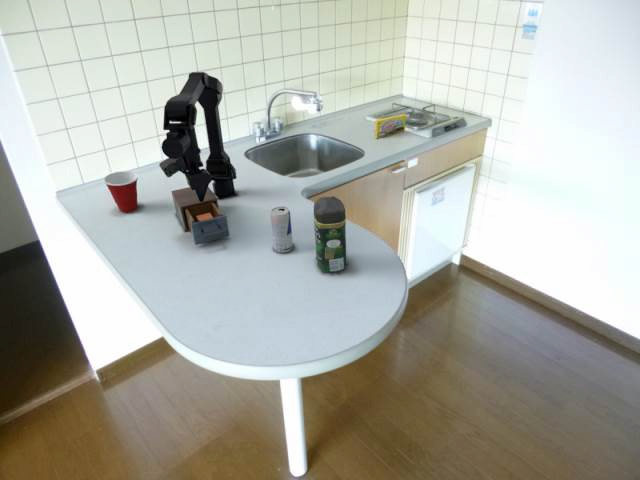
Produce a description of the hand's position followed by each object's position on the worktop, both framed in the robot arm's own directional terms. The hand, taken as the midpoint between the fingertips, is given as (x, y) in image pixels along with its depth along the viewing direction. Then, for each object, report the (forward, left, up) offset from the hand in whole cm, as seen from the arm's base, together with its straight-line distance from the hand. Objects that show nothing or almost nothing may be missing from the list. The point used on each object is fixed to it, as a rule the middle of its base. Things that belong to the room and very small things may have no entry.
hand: (197, 195), depth 138 cm
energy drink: (-17, +23, -12) cm, 31 cm away
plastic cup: (+19, -27, -12) cm, 35 cm away
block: (0, +4, -10) cm, 10 cm away
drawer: (0, +6, -11) cm, 12 cm away
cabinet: (0, -8, -12) cm, 14 cm away
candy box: (-98, -43, -12) cm, 107 cm away
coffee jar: (-25, +37, -12) cm, 46 cm away
